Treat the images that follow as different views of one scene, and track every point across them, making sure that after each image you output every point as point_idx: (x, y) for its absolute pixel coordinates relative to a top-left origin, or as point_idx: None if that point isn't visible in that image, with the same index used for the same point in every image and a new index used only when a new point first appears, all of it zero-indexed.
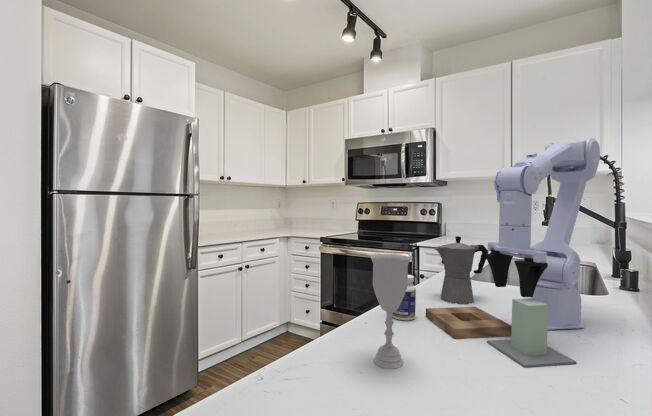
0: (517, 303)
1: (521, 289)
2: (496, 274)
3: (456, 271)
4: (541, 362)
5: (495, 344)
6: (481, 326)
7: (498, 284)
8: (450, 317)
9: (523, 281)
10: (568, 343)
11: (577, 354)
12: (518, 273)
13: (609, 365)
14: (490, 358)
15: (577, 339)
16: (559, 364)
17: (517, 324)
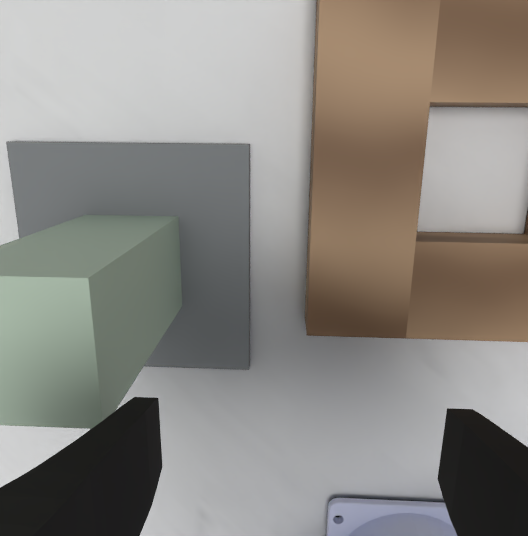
0: (41, 272)
1: (117, 420)
2: (507, 483)
3: None
4: (30, 230)
5: (202, 156)
6: (328, 168)
7: (455, 431)
8: (505, 62)
9: (39, 466)
10: (204, 472)
11: None
12: (48, 510)
13: (32, 452)
14: (94, 49)
15: (234, 530)
16: None
17: (97, 238)
